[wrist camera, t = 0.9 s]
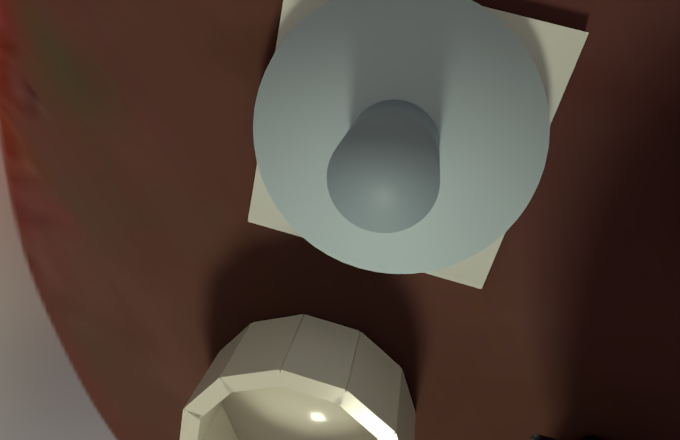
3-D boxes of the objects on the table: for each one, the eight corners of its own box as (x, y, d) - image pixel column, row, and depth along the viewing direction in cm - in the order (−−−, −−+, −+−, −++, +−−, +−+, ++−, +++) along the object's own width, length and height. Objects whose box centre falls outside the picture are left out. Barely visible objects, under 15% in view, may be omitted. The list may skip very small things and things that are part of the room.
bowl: (439, 354, 22) (439, 418, 19) (381, 497, 26) (373, 570, 23) (228, 291, 23) (191, 341, 19) (205, 440, 27) (171, 503, 24)
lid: (597, 27, 16) (659, 36, 11) (484, 294, 20) (497, 374, 16) (285, -50, 16) (231, -71, 12) (242, 224, 21) (191, 281, 16)
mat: (585, 32, 16) (588, 32, 16) (480, 284, 20) (481, 289, 20) (293, -41, 17) (290, -42, 16) (251, 217, 21) (247, 221, 21)
